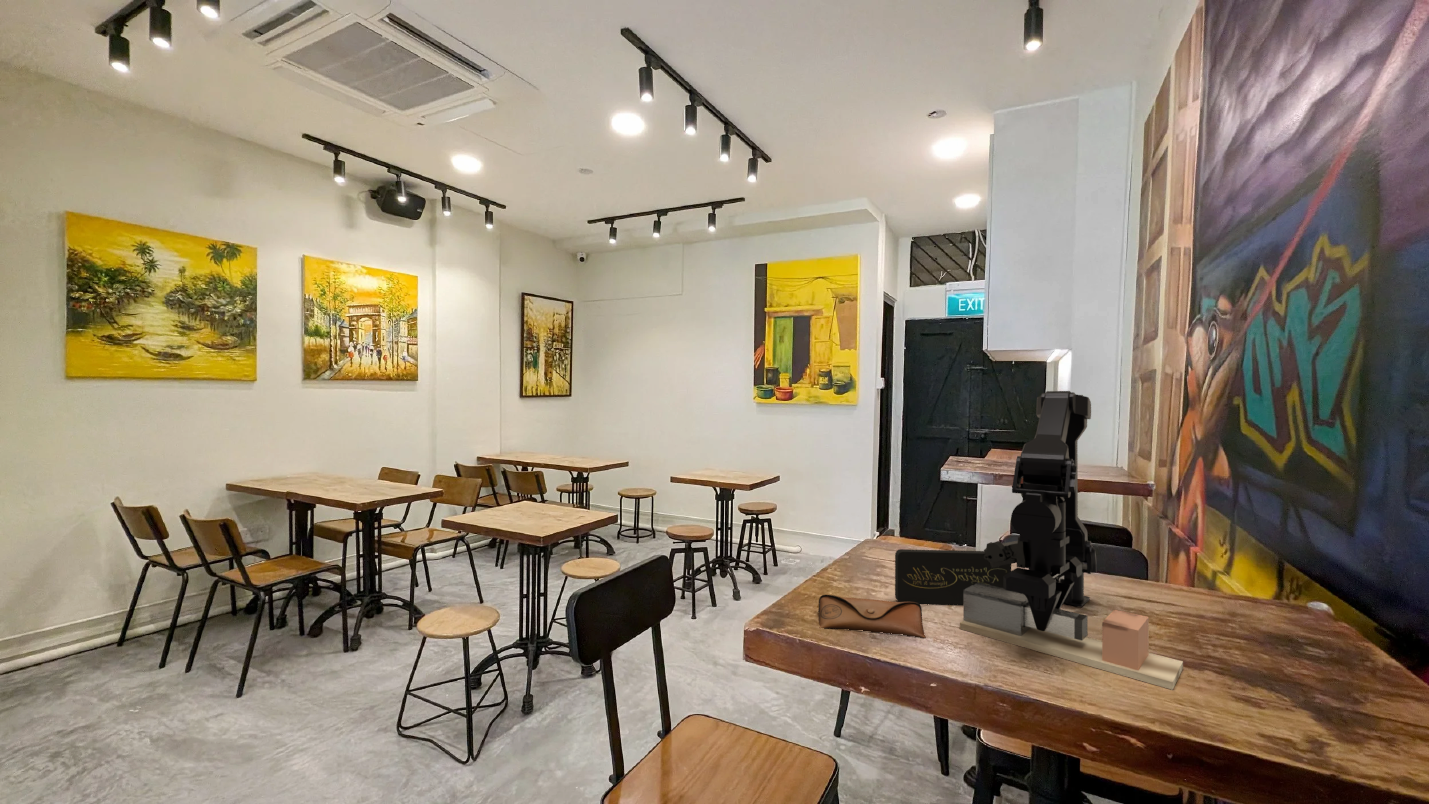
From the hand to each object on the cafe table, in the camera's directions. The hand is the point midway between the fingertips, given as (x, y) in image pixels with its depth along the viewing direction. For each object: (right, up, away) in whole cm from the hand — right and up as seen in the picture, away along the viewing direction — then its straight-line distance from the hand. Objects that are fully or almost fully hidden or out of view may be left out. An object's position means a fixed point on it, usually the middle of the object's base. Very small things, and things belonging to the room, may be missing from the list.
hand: (1044, 627), depth 89 cm
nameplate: (-7, -3, +18) cm, 19 cm away
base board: (+2, -2, -2) cm, 3 cm away
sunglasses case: (-26, -3, +7) cm, 27 cm away
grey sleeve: (-5, -1, +5) cm, 7 cm away
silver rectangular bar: (-2, 0, +2) cm, 3 cm away
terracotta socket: (+7, -1, -8) cm, 11 cm away
